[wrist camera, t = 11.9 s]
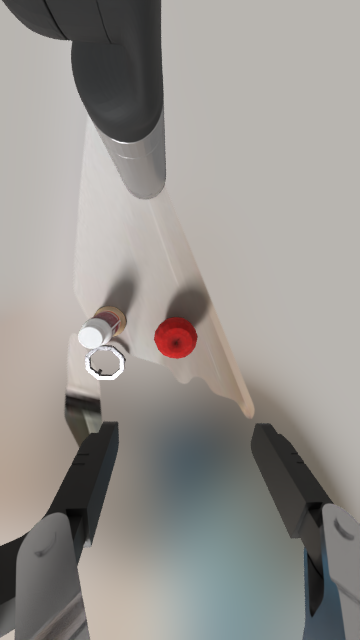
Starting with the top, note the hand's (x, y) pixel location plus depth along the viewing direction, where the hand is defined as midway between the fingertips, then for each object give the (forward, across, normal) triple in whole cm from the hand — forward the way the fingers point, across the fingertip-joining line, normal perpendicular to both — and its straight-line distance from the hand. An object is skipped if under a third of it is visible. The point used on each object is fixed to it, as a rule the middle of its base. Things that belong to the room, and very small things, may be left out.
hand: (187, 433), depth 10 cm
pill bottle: (+36, +16, +5) cm, 39 cm away
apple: (+36, -1, +6) cm, 37 cm away
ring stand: (+36, +17, +16) cm, 43 cm away
